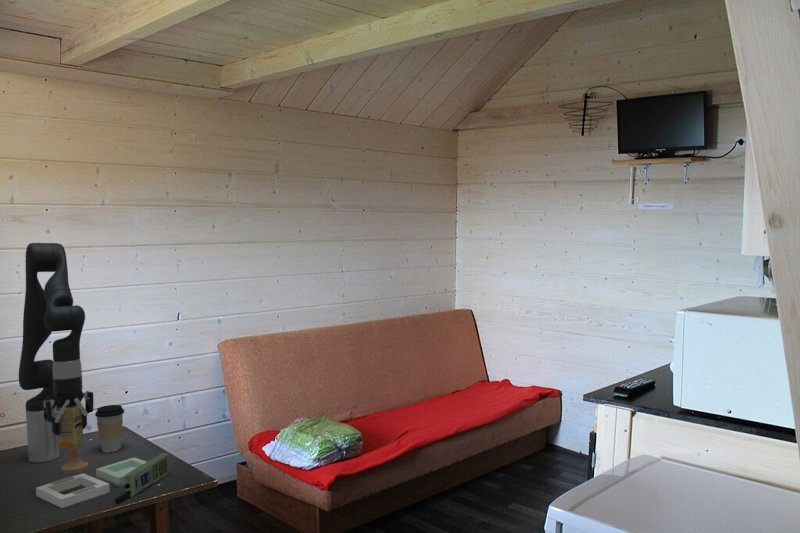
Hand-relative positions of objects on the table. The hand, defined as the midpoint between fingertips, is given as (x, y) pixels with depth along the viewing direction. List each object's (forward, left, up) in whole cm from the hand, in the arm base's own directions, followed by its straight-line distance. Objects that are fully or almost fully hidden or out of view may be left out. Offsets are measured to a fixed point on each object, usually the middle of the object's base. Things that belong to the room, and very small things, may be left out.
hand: (70, 431), depth 200 cm
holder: (0, 0, -19) cm, 19 cm away
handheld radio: (+12, +15, -19) cm, 27 cm away
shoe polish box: (0, 0, -5) cm, 5 cm away
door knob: (-20, +11, -19) cm, 30 cm away
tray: (0, +17, -19) cm, 25 cm away
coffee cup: (-28, +28, -19) cm, 44 cm away
